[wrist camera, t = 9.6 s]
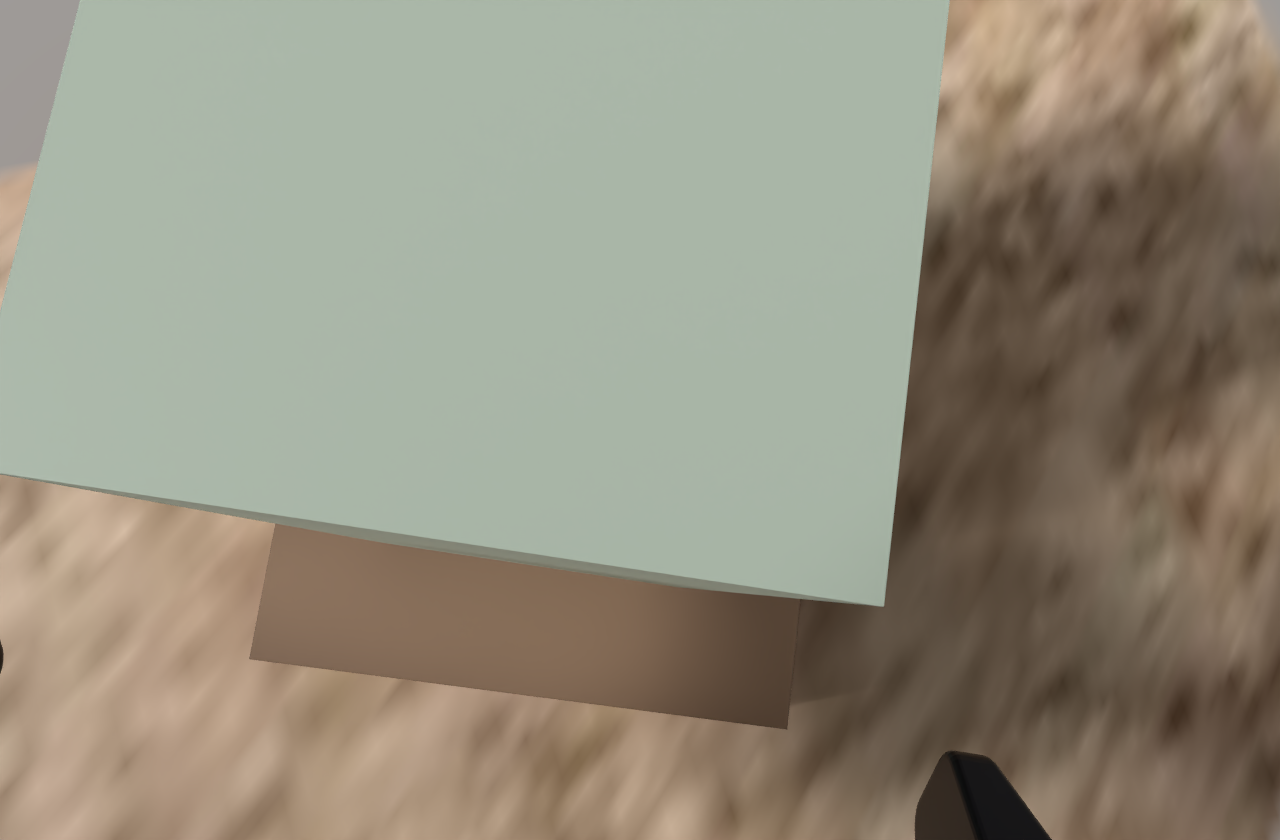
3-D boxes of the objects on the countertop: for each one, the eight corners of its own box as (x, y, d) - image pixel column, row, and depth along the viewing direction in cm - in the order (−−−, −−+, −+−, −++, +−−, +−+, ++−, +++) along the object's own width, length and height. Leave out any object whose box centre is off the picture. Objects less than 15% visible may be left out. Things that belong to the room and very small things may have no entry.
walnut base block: (757, 709, 20) (786, 729, 17) (299, 648, 20) (249, 658, 17) (804, 272, 22) (839, 222, 19) (379, 211, 21) (347, 150, 18)
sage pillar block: (677, 587, 17) (885, 606, 6) (385, 543, 17) (-39, 465, 5) (716, 306, 18) (971, -198, 6) (438, 261, 18) (168, -341, 6)
